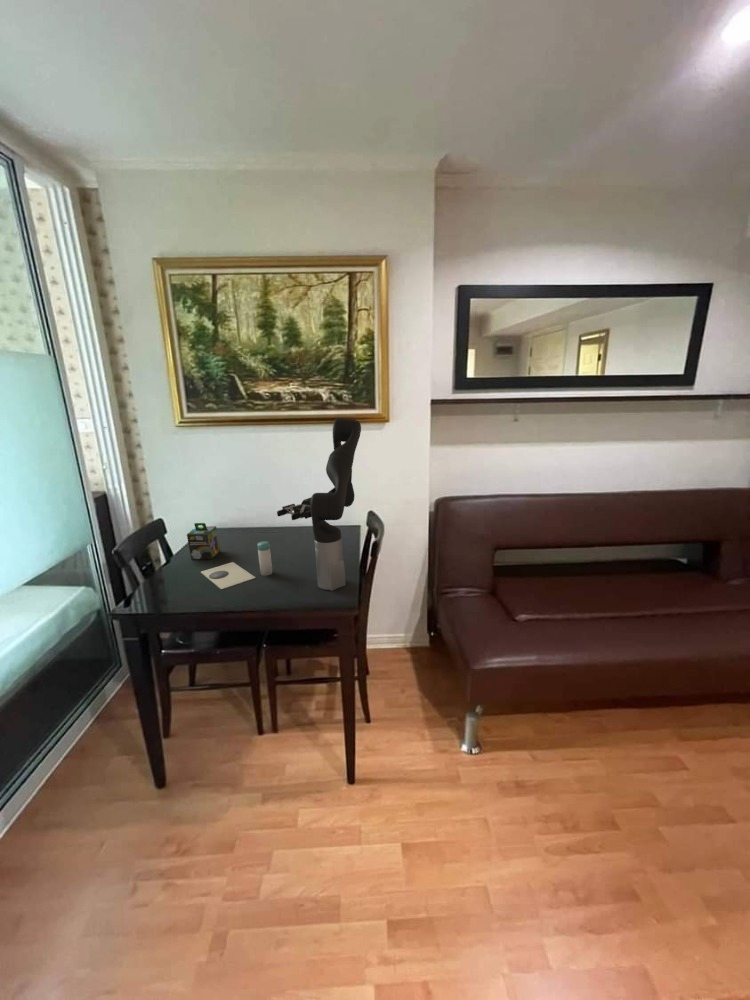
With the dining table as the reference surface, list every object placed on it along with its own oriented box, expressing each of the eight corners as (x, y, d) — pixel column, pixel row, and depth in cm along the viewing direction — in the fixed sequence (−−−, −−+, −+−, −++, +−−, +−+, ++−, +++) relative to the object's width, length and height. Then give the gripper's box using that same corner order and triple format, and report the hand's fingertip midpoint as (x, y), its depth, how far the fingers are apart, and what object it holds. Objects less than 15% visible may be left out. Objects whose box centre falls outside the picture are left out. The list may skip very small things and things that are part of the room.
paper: (255, 578, 162) (255, 577, 162) (221, 589, 154) (221, 588, 154) (232, 562, 177) (232, 561, 176) (200, 572, 168) (200, 571, 168)
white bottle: (274, 573, 166) (271, 543, 162) (264, 576, 163) (260, 546, 160) (269, 569, 169) (265, 540, 166) (258, 573, 166) (255, 543, 163)
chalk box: (220, 551, 189) (216, 518, 185) (211, 559, 180) (206, 525, 176) (200, 551, 190) (195, 518, 186) (190, 559, 181) (184, 525, 177)
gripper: (303, 494, 184) (272, 503, 172) (327, 499, 175) (296, 509, 163) (304, 511, 186) (273, 521, 174) (328, 517, 177) (297, 528, 165)
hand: (284, 515), depth 169 cm, fingers open, 8 cm apart
